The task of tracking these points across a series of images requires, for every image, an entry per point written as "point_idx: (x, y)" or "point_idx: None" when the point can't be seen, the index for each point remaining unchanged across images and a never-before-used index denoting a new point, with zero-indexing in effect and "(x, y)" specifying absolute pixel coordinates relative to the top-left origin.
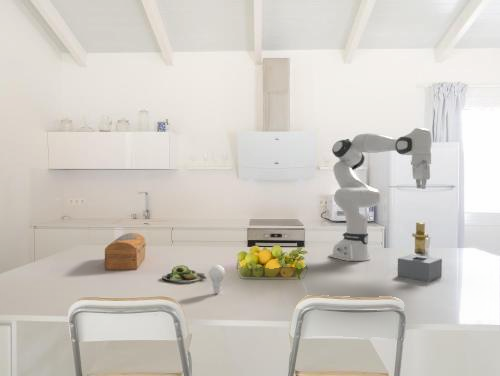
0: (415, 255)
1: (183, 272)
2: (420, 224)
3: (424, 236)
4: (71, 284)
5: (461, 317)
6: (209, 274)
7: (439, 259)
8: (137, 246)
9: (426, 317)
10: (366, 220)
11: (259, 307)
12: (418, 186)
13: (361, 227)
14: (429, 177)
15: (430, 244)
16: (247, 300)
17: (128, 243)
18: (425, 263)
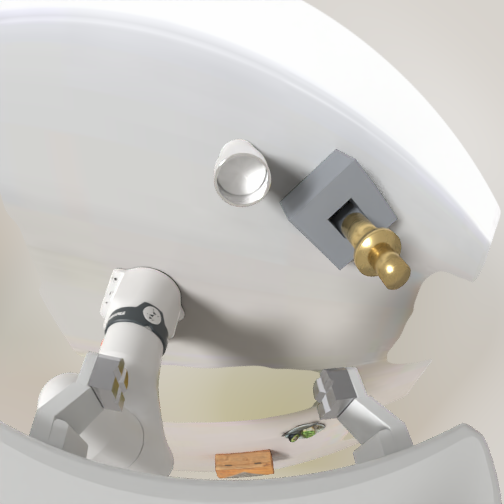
0: (307, 215)
1: (297, 435)
2: (406, 278)
3: (399, 248)
4: (311, 451)
5: (485, 233)
6: None
7: (364, 171)
8: (262, 467)
9: (474, 266)
10: (136, 360)
11: (402, 378)
12: (119, 388)
13: (157, 355)
14: (479, 432)
15: (259, 153)
16: (384, 388)
17: (272, 470)
18: (390, 223)
